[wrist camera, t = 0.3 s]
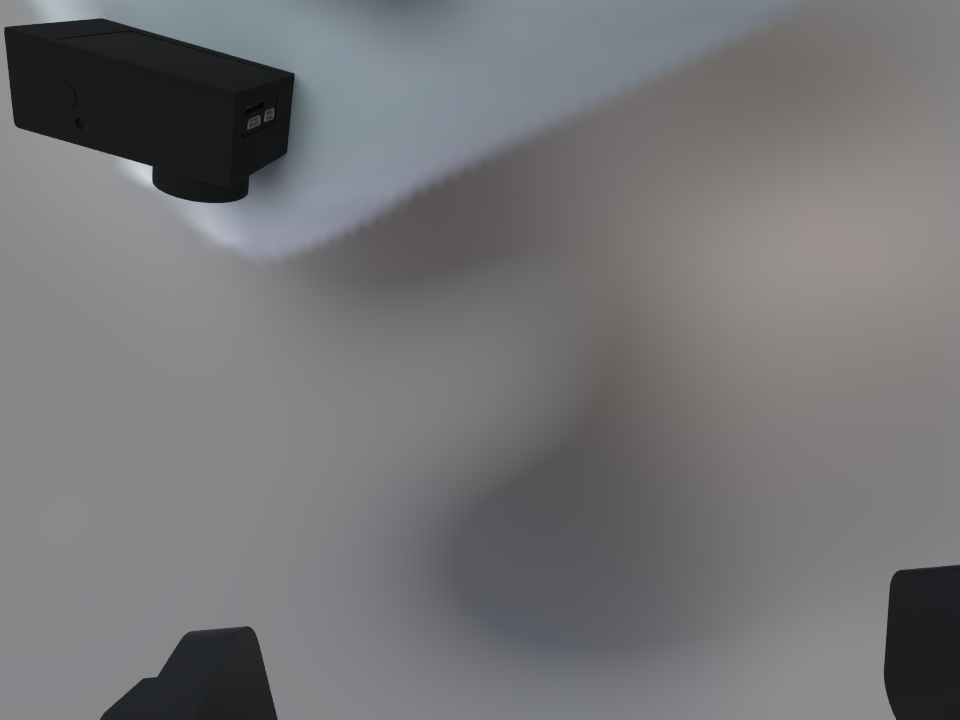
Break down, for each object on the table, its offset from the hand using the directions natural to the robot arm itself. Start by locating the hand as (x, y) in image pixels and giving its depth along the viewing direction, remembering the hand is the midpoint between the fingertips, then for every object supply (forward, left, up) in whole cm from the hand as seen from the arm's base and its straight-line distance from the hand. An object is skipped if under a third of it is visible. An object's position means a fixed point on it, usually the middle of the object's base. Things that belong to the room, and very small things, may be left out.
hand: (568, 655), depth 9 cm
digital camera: (-12, -17, -30) cm, 37 cm away
